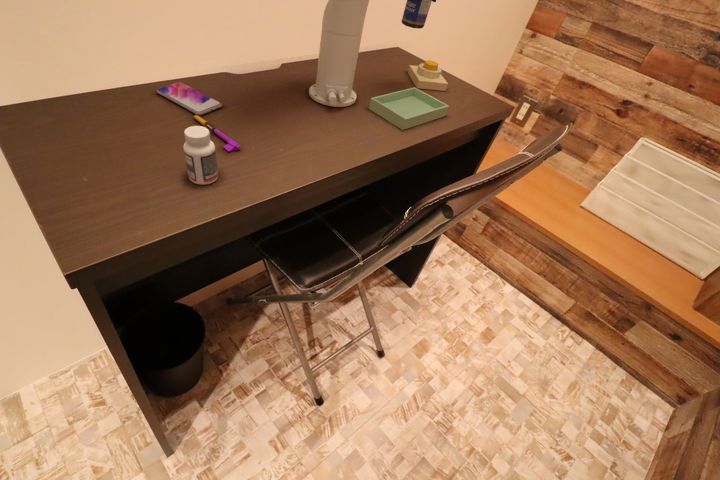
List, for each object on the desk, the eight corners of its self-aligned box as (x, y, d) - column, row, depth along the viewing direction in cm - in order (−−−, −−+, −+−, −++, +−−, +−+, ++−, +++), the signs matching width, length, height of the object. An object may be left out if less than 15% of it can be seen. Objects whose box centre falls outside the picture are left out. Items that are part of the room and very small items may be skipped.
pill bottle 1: (220, 170, 68) (216, 125, 62) (215, 186, 65) (210, 141, 58) (191, 167, 68) (184, 122, 61) (185, 184, 64) (176, 137, 58)
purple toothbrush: (242, 148, 73) (197, 117, 80) (240, 144, 72) (195, 112, 79) (231, 155, 73) (187, 122, 79) (230, 150, 72) (185, 118, 78)
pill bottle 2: (396, 21, 97) (409, -32, 89) (414, 21, 99) (428, -30, 91) (410, 29, 93) (425, -25, 85) (428, 29, 96) (444, -23, 88)
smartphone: (198, 113, 80) (155, 89, 85) (199, 117, 80) (155, 93, 85) (223, 103, 84) (180, 81, 89) (223, 107, 85) (181, 84, 90)
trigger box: (445, 91, 108) (450, 77, 105) (416, 88, 107) (421, 74, 104) (434, 75, 116) (438, 61, 113) (407, 72, 115) (411, 58, 112)
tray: (411, 97, 102) (414, 87, 100) (445, 116, 96) (449, 105, 94) (368, 108, 94) (370, 97, 92) (402, 130, 88) (405, 119, 86)
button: (438, 72, 108) (440, 66, 107) (425, 71, 107) (427, 64, 106) (434, 67, 111) (436, 61, 109) (421, 65, 110) (423, 59, 109)
